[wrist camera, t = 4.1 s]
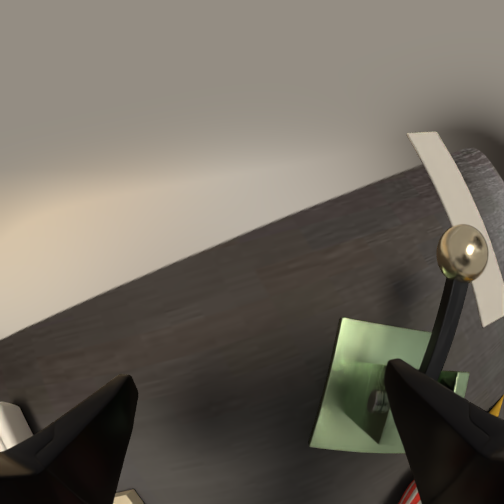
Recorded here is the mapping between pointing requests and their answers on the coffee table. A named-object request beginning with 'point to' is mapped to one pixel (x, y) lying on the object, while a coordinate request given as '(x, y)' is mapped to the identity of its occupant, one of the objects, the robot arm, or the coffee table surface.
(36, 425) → the coffee table surface
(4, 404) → the soap
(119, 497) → the button block
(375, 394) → the bracket
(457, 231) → the lever
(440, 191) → the nameplate
